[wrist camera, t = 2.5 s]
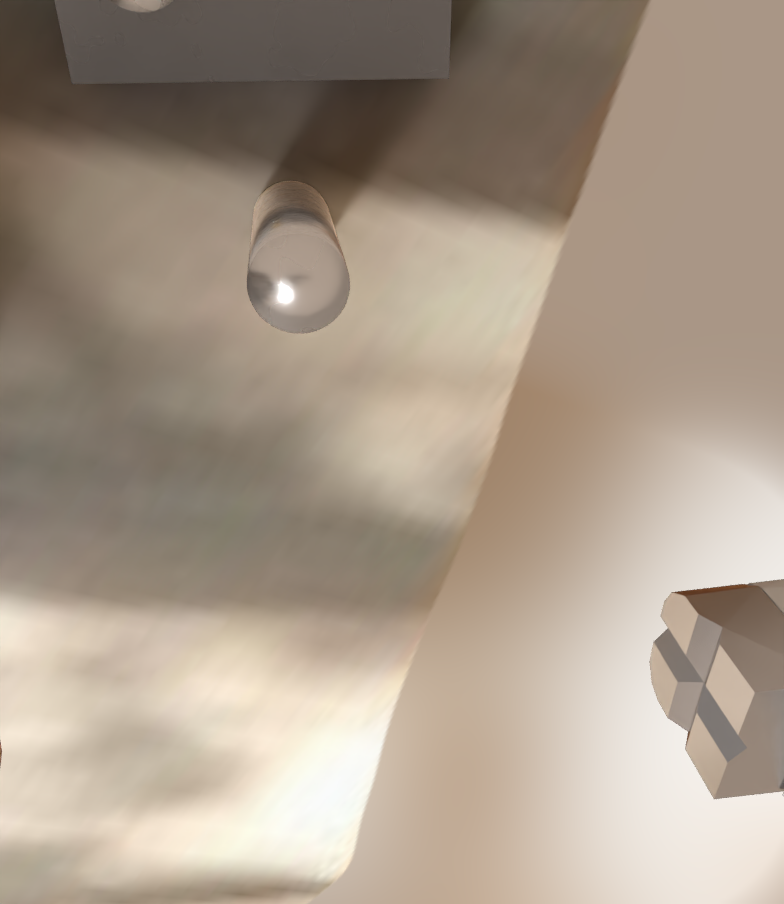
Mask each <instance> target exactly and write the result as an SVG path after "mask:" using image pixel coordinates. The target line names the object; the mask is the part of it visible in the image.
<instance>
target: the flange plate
mask: <svg viewBox="0 0 784 904" xmlns="http://www.w3.org/2000/svg"><path fill="white" fill-rule="evenodd" d="M54 1H55V6H56V11H57V16H58V20H59V25H60V30H61V35H62V39H63V44H64V49H65V54H66V58H67V63H68V68H69V73H70V77H71V82H72V84H116V83H183V82H250V81H317V80H384V79H449V66H450V35H451V5H452V0H54Z"/></svg>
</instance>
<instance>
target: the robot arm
mask: <svg viewBox="0 0 784 904" xmlns="http://www.w3.org/2000/svg"><path fill="white" fill-rule="evenodd" d="M661 618H662V619H663V621H664V622H665V624H666V625H667V627H668V629H667V630H666V631H665V632H664V633H662V634H661V635H660V636H659V637H658V638H657V639H656V640H655V641H654V643H653V648H652V652H651V657H650V670H651V679H652V685H653V688H654V690H655V693H656V696H657V699H658V701H659V703H660V705H661V707H662V709H663V710H664V712H665V714H666V716H667V717H668V718H669V719H670V720H672V721H673V722H675V723H676V724H678V725H679V726H681V727H682V728H684V729H685V730H687V731H688V736H687V742H686V748H685V749H686V751H687V753H688V755H689V757H690V758H691V760H692V762H693V764H694V765H695V767H696V769H697V770H698V772H699V774H700V776H701V777H702V779H703V781H704V783H705V784H706V786H707V788H708V790H709V791H710V793H711V795H712V796H713V798H714V799H719V798H727V797H737V796H746V795H754V794H763V793H772V792H780V791H784V579H782V580H773V581H765V582H756V583H749V584H739V585H730V586H721V587H713V588H704V589H697V590H687V591H678V592H672V593H671V594H670V595H669V596H668V598H667V599H666V600H665V602H664V605H663V609H662V613H661ZM1 756H2V748H1V742H0V766H1ZM783 796H784V793H783Z"/></svg>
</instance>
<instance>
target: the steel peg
mask: <svg viewBox="0 0 784 904" xmlns="http://www.w3.org/2000/svg"><path fill="white" fill-rule="evenodd" d="M247 289H248V295H249V298H250V301H251V303H252V305H253V307H254V308H255V310H256V312H257V313H258V314H259V315H260V316H261V318H263V319H264V320H265V321H266V322H267V323H269V324H270V325H272V326H273V327H275V328H277V329H280V330H282V331H286V332H290V333H309V332H313V331H317V330H319V329H322V328H323V327H325V326H327V325H328V324H330V323H331V322H333V321H334V320H335V319H336V318H337V317H338V315H339V314H340V313H341V312H342V310H343V308H344V307H345V304H346V302H347V299H348V296H349V290H350V279H349V273H348V269H347V266H346V263H345V260H344V257H343V253H342V250H341V247H340V244H339V240H338V237H337V234H336V231H335V228H334V224H333V221H332V218H331V215H330V212H329V209H328V206H327V204H326V202H325V200H324V199H323V197H322V196H321V195H320V194H319V192H318V191H316V190H315V189H314V188H312V187H311V186H309V185H307V184H305V183H302V182H299V181H282V182H278V183H276V184H273V185H272V186H270V187H268V188H267V189H266V190H265V191H264V192H263V193H262V194H261V195H260V197H259V198H258V200H257V202H256V204H255V207H254V211H253V221H252V231H251V242H250V253H249V264H248V275H247Z"/></svg>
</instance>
